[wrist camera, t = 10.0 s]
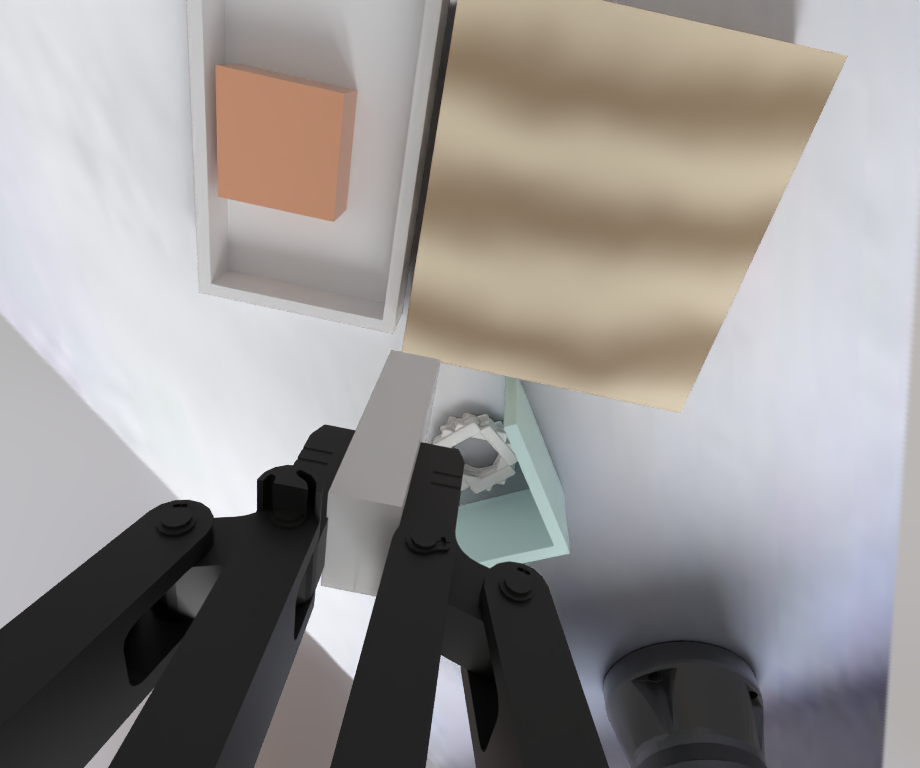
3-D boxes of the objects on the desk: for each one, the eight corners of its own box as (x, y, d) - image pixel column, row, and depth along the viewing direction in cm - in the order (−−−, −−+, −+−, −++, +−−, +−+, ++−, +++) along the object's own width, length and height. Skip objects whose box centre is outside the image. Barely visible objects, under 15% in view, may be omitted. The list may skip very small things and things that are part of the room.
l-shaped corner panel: (516, 368, 43) (516, 423, 37) (563, 486, 49) (570, 553, 42) (374, 410, 46) (351, 469, 40) (432, 517, 52) (420, 585, 45)
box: (402, 313, 41) (393, 333, 38) (222, 274, 41) (199, 292, 38) (453, -23, 31) (446, -30, 28) (215, -77, 31) (182, -91, 28)
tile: (218, 196, 34) (238, 186, 37) (333, 221, 34) (346, 209, 37) (215, 64, 31) (238, 63, 33) (344, 93, 31) (357, 90, 34)
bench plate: (660, 367, 42) (680, 412, 36) (415, 315, 41) (401, 353, 36) (793, 55, 32) (847, 56, 26) (471, -19, 31) (462, -32, 26)
